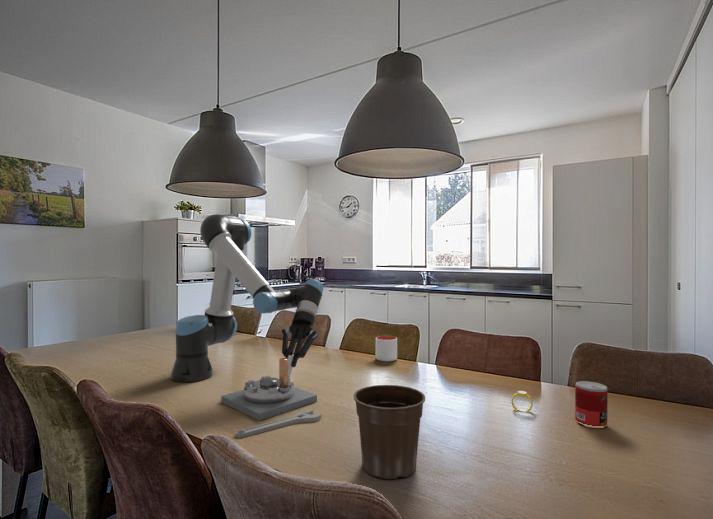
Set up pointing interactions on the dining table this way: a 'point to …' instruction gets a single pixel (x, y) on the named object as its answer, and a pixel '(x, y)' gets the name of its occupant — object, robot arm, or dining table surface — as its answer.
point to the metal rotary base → (270, 387)
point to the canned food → (591, 403)
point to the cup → (386, 348)
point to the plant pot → (389, 429)
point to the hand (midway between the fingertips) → (286, 375)
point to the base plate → (268, 410)
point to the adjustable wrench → (280, 423)
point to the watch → (522, 395)
